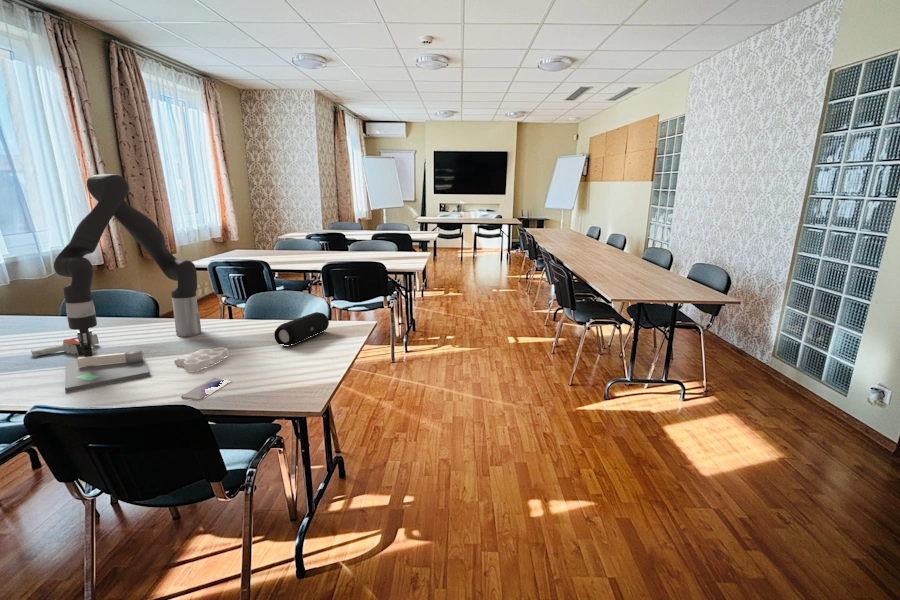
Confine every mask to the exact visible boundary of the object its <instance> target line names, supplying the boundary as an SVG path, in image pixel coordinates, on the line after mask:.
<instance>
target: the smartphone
mask: <svg viewBox="0 0 900 600" xmlns="http://www.w3.org/2000/svg"><path fill="white" fill-rule="evenodd" d="M222 379H223V378H216V377H215V378H212V379H210V380H208V381H206V382H205V383H202V384H200V385H199V386H197V387H195V388H194V389H192V390H190V391H188V392H186V393H185V394H182V396H180V399H181V398H182V400H187V399H192V400H191V401H195V400H201V399H203V398H204V397H205V396H207V395H208V394H206V393H205V389H208V388H211V387H218V386H220V385H219V384H222V383H220V382H221V381H222V382H223V381H224V380H222ZM204 399H205V398H204ZM204 399H203V400H204ZM201 401H202V400H201Z"/></svg>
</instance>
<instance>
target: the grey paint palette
mask: <svg viewBox="0 0 900 600" xmlns="http://www.w3.org/2000/svg"><path fill="white" fill-rule="evenodd" d="M225 356H228V357H229V350H228V348H227V347H224V346H223V347H215V348H209V349H208V348H200V349H198V350H197V351H194V352H191V353H188V354H186V355H184V356H181V357H179V358H177V359H175V360H174V364H175V366H177V365H178V367H184V371H185V370H186V371H185V372H187V371H195V372H198V371H197V370H199V371H201V370H202V369H201V368H203V369H205V368H204V367H208V366H211V365H214V364H215V363H217V362H219V361H221V360H223V361H224V360H226V358H224V357H225ZM217 364H218V363H217ZM215 365H216V364H215ZM215 365H214V366H215ZM211 367H212V366H211ZM208 368H209V367H208ZM200 369H201V370H200Z"/></svg>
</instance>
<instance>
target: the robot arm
mask: <svg viewBox="0 0 900 600" xmlns="http://www.w3.org/2000/svg"><path fill="white" fill-rule="evenodd" d="M86 187H87V190H88V192H89V194H90V195H91V196H92V197H93V198H94V199H95V200H96V201H97V204H96V205H95V206H94V207H93V208H92V210H91V211H89V213H88V214H87V215H86V216H85V217H83V218H82V220H81V221H80V222H79V223H78V225H77V226H76V228H75V231H74V232H73V235H72V236H71V238H70V239H71V240H70V241H69V243H67V244H66V245H65V247H64V248H63V249H61V251H60V253H59V254H58V255H57V256H56V258H55V260H54V262H53V269H54V272H55V273H56V274H57V275H59V276H61V277H65V278H66V277H67V278H71V283H70V284H67V285H65V286H64V287H63V293H64V295H63V296H64V301H65V311H66V317H67V322H68V328H69V329H70V330H73V331H76V330H78V331H77V332H76V333H77V334H76V336H77V337H78V339H79V341H78V342H79V343H80V346H81V347H82V351H83V352H84V355H83V357H88V356H94V354H92V346H91V345H92V344H93V342H92V335H93V331H92V330H91V328H95V327H97V325H98V320H97V313H96V309H95V305H94V301H93V296H92V291H91V287H92V283H93V276H94V268H93V265H92V263H91V261H90V260H89V259H88V258H86V257H85V256H86V255H91V254H93V253H94V252H95V251H96V249H97V247H98V245H99V242H100V241H101V238H102V235H103V234H104V232H105V230H106V228H107V226H108V224H109V223H110V221H112V218H113V217H114V218H115V219H116V220H117V221H118V223H120V224H121V225H122V226H123V228H125V230H126V231H127V232H128V233H129V234H130V235H131V237H132V238H133V239H134V240H135V241H136V242H137V243H138V244H139V245H140V246H141V247H142V248H143V250H145V252H146V253H147V254H149V256H150V257H151V259H153V261H155V263H156V264H157V266H158V268H159V269H160V270H161V272H163V274H164V275H165V277H166V278H168V279H169V280H172V281H177V287H176V288H175V289H172V290H171V293H170V295H171V302H172V309H173V319H174V324H175V325H174V326H175V333H176V334H175V335H176V336H177V337H179V338H180V337H182V338H184V337H193V336H197V335H199V334H202V325H201V318H200V317H201V315H200V312H199V308H198V300H197V290H198V273H197V268H196V265H195V264H194V263H193V262H192V261H191V260H188V259H178V258H177V257H175V256H174V255H173V253H171V251H170V250H169V249H168V248H167V245H166V239H165V236H164V233H163V232H162V230H161V229H160V228H159V227H158V225H157V224H156V223H155V222H154V221H153V219H151V218H150V217H148V215H146V214H144V213H142V212H141V211H139V210H138V209H136V208H134V207H133V206H131V205H130V203H128V202H127V201H126V200H125V199H126V198H127V196H128V194H129V191H130V187H129V183H128V181H127V180H126V179H125V178H124V177H123V176H121V175H119V174H115V173H109V174H108V173H105V174H95V175H91V176H89V177H88V178H87V181H86ZM89 329H90V330H89ZM78 339H77V340H78Z"/></svg>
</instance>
